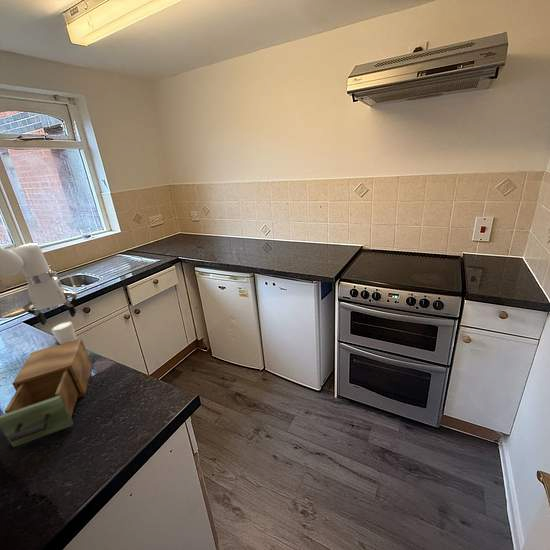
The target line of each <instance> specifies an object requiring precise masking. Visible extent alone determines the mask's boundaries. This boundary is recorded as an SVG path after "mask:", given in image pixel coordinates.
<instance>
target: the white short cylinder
mask: <svg viewBox="0 0 550 550" xmlns="http://www.w3.org/2000/svg"><path fill="white" fill-rule="evenodd" d="M50 331H51V333H52V335H53V336H54V338H55V339H56V341H57V343H58V345H60V344H64V343H67V342H71V341H74V340H78V339H77V335H76V332H75V328H74V326H73V323H72V322H71V321H65V322H61V323H58V324H57V325H55V326H53V327H52V328H51V329H50Z"/></svg>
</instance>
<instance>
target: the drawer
mask: <svg viewBox="0 0 550 550" xmlns="http://www.w3.org/2000/svg"><path fill="white" fill-rule="evenodd" d="M78 393H79V388H78V386H77V384H76V382H75V380H74V378H73V376H72V374H71V371H70V369H66V370H63V371H59V372H56V373H53V374H50V375H47V376H43V377H40V378H37V379H34V380H31V381H27V382H24V383H21V384H20V386H19V387H18V389H17V391H16V390H15V393H14V394H13V396H12V397H11V399H10V401H9V403H8V405H7V406H6V408H5V410H4V413H3V414H0V429H1V431H2V432H3V434H4V435H5V437H6V439H7V440H8V442H9V443H10V445H11V447H12V448H16V447H19V446H21V445H24V444H27V443H30V442H32V441H35V440H38V439H41V438H43V437H46V436H49V435H51V434H54V433H57V432H59V431H61V430H65V429H67V428H70V427H73V426H74V420H73V419H72V417H73V414H74V410H75V406H76V403H77V400H78V398H79V397H78ZM77 397H78V398H77Z"/></svg>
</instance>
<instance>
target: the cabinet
mask: <svg viewBox="0 0 550 550" xmlns="http://www.w3.org/2000/svg"><path fill="white" fill-rule="evenodd" d="M93 367H94V365H93V362H92V360H91V357H90V355H89V353H88V351H87V348H86V346H85V344H84V341H83V339H82V338H78V339H76V340H74V341H73V340H72V341H70V342H67V343H64V344H58V345H53V346H50V347H46V348H42V349H40V350H36V351H32V352H30V354H29V356H28V357H27V359H26V361H25V362H24V364H23V366H22V367H21V369H20V370H19V372H18V373H17V375H16V377H15V378H14V380H13V381H12V383H11V385H12V386H13V388H14V390H15V392H16V391H17V389H18V387H19V386H20V384H21V383H24V382H27V381H31V380H34V379H37V378H40V377H43V376H47V375H50V374H53V373H56V372H59V371H63V370H66V369H70V371H71V374H72V376H73V378H74V380H75V382H76V384H77V386H78V388H79V393H78V397H77V399H78V398H81V397H84V396H86V393H87V389H88V386H89V382H90V378H91V374H92V370H93Z"/></svg>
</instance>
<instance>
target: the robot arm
mask: <svg viewBox="0 0 550 550" xmlns="http://www.w3.org/2000/svg"><path fill="white" fill-rule="evenodd" d="M20 272H22V275H23V276H24V278H25V280H26V282H27V285H26V288H27V292H28V295H29V299H30V300H29V301H28V302H27V303H25V304H24V305H22V308H21V309H22V310H24V311H26V312H27V313H28V314H30V315H34V317H36V318H37V321H38V322H39V324H41V325H42V326H44V325H46V323H47V320H48V319H47V318H46V317H45V314H44V312H43V311H42V310H46V309H50V308H54V307H58V306H62V305H64V306H66V307H68V308H67V310H68V312H69V314H70V316H71V317H72V318H73V317H75V315H76V314H77V311H76V308H75V306H74V305H75V303H76V301H77V297H78V292H74V291H68V290H66V289H65V288H64V286H63V284H62V282H61V281H60V280H59V278H58V277H57V275H58V273H57V271H52V269H51V268H50V267H49V264H48V262H47V260H46V258H45V255H44V253H43V251H42V248H41V246H40V245H39V244H38V243H36V242H35V243H34V242H31V243H26V244H25V243H24V244H22V245H21V244H20V245H19V246H16V247H12V248H4V247H2V246H0V275H2V276H6V277H7V276H14V275H17V274H19V273H20ZM69 297H72V298H71V300H70V299H69ZM31 306H33V308H32V307H31Z"/></svg>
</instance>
